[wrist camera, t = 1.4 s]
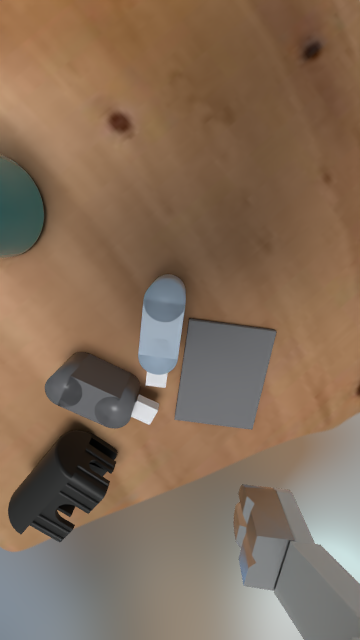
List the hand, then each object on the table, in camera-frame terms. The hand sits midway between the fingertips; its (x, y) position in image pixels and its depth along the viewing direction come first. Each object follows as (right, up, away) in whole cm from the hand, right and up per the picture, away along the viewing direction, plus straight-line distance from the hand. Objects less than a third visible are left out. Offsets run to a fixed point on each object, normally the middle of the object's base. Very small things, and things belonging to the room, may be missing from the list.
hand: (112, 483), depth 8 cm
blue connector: (+1, +5, +20) cm, 20 cm away
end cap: (-11, -12, +25) cm, 30 cm away
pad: (+7, -1, +21) cm, 22 cm away
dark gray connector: (-5, -2, +21) cm, 22 cm away
